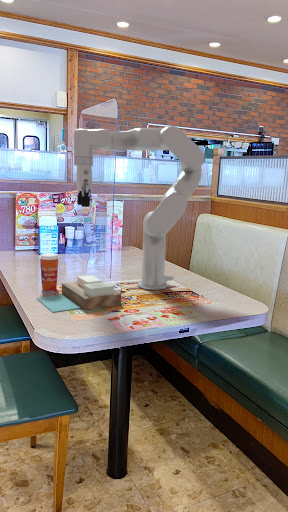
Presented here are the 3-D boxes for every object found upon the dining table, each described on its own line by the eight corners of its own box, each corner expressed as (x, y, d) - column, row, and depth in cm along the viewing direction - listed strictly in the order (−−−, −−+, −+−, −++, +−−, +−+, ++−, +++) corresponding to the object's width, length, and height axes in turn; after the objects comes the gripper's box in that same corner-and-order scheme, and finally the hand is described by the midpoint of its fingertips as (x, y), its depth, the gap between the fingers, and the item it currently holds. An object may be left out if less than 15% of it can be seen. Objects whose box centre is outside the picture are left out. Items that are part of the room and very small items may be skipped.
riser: (94, 289, 163) (94, 279, 162) (121, 304, 145) (121, 293, 144) (61, 293, 155) (61, 283, 155) (85, 310, 137) (85, 299, 137)
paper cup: (39, 292, 156) (39, 256, 154) (39, 286, 164) (38, 252, 161) (60, 291, 158) (60, 256, 156) (58, 285, 166) (58, 252, 163)
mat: (62, 295, 153) (62, 294, 153) (80, 308, 139) (80, 307, 139) (36, 298, 148) (36, 297, 148) (52, 312, 134) (52, 311, 134)
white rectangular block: (91, 282, 158) (91, 275, 157) (101, 288, 150) (102, 280, 150) (77, 284, 154) (77, 276, 154) (87, 290, 147) (87, 282, 146)
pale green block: (83, 292, 144) (83, 284, 143) (106, 289, 148) (106, 281, 148) (90, 297, 139) (90, 288, 138) (113, 294, 143) (114, 285, 143)
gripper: (97, 162, 152) (97, 207, 155) (88, 162, 168) (88, 204, 171) (77, 161, 149) (77, 207, 153) (70, 162, 166) (70, 204, 169)
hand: (83, 205), depth 162 cm, fingers open, 9 cm apart
